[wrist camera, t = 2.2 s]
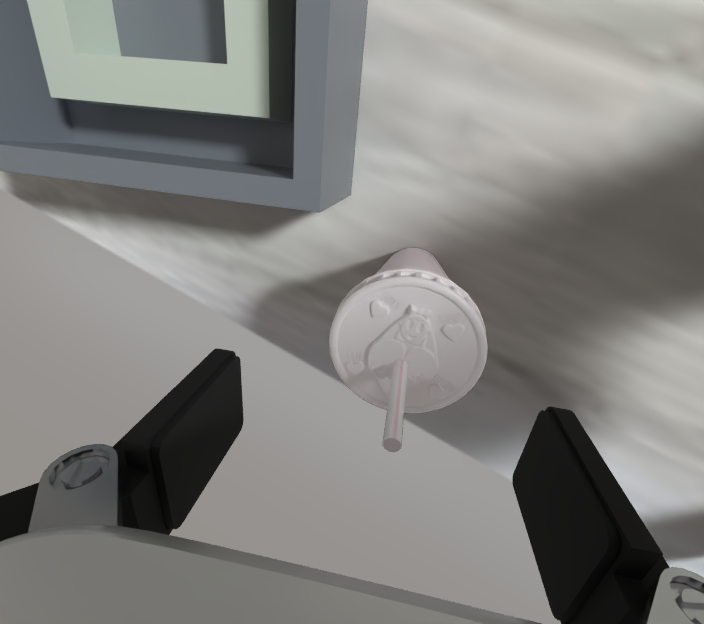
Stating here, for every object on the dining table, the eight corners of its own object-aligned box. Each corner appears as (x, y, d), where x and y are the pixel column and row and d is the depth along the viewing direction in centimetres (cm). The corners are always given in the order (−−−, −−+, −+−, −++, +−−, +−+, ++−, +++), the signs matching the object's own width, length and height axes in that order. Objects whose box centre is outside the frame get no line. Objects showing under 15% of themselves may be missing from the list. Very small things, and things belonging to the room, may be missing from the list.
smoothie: (354, 305, 24) (278, 470, 11) (376, 213, 21) (308, 301, 9) (443, 330, 23) (466, 532, 11) (479, 240, 21) (565, 375, 8)
